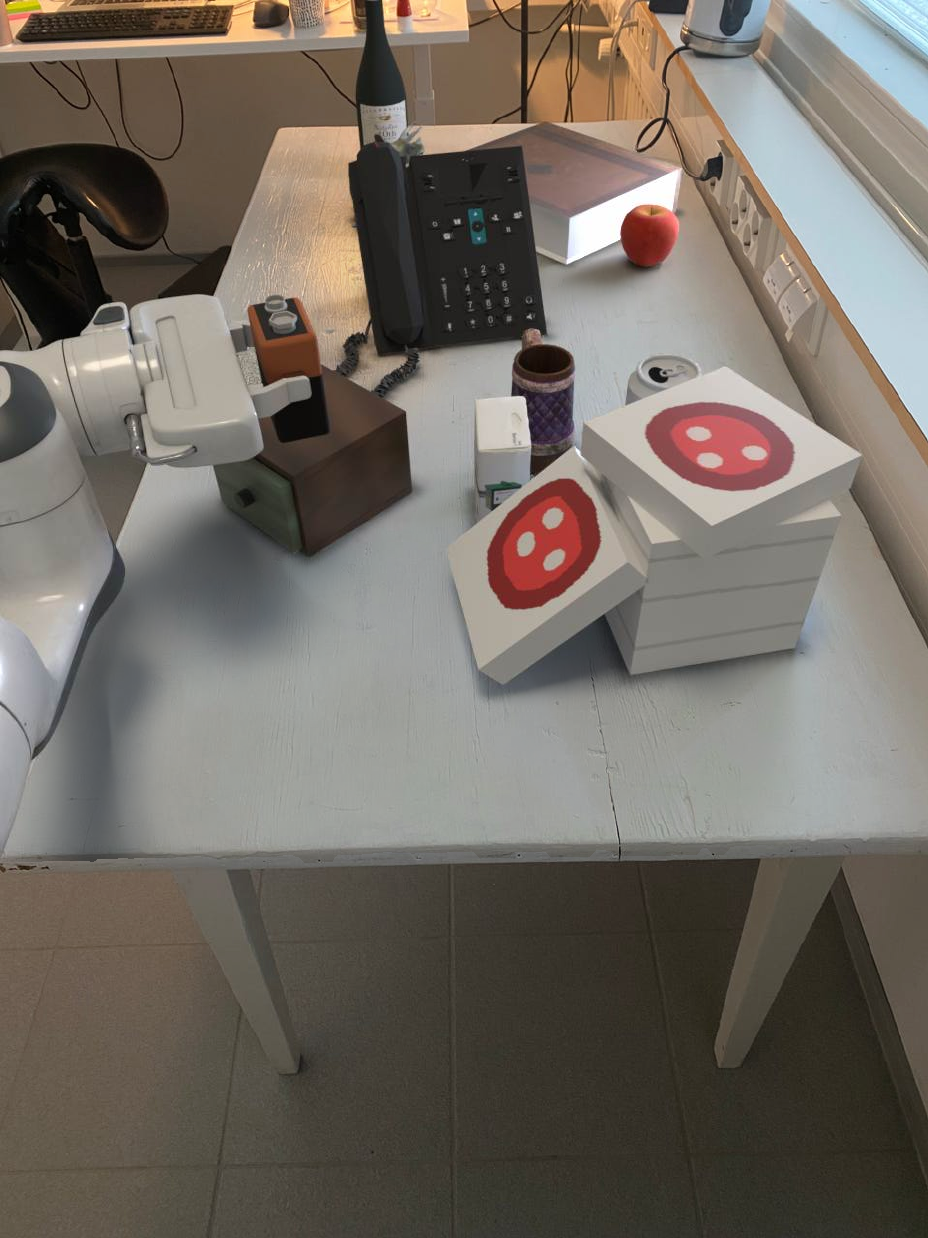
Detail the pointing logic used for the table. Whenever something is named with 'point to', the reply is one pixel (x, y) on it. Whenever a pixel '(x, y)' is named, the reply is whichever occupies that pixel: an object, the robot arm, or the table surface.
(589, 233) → the book
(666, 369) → the can
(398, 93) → the wine bottle
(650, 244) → the apple
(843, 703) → the table surface
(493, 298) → the office phone
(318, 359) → the battery
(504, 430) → the ink box
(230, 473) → the drawer
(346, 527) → the cabinet
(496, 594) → the pizza boxes
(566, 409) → the mug
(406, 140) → the toy dinosaur
